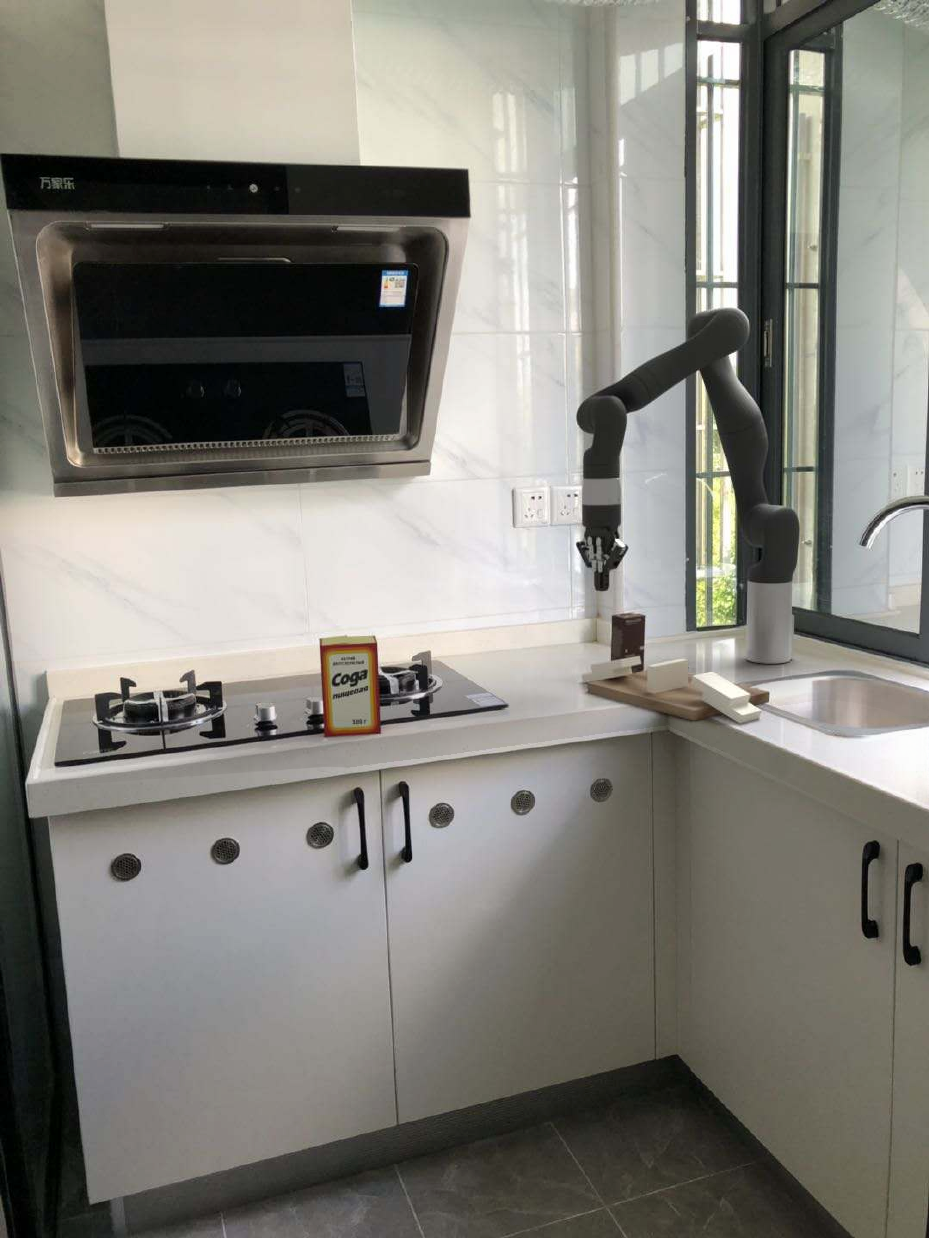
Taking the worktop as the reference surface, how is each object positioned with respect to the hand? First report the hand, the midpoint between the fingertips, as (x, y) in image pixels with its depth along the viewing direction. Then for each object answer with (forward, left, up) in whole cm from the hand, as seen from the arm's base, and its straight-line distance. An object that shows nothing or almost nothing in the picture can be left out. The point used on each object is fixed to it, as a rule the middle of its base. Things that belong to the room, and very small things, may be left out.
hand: (601, 590), depth 199 cm
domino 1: (0, +8, -13) cm, 15 cm away
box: (-11, -4, -19) cm, 22 cm away
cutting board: (-3, +17, -19) cm, 25 cm away
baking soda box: (+55, -3, -19) cm, 58 cm away
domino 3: (-5, +17, -14) cm, 23 cm away
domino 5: (0, +28, -15) cm, 32 cm away
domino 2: (0, +6, -15) cm, 16 cm away
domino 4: (0, +26, -13) cm, 29 cm away
